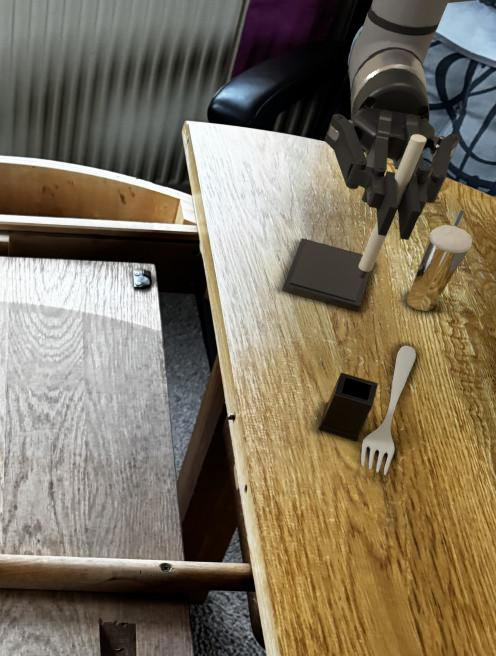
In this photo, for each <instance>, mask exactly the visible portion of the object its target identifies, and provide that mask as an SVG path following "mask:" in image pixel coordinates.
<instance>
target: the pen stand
mask: <svg viewBox="0 0 496 656" xmlns="http://www.w3.org/2000/svg"><path fill="white" fill-rule="evenodd" d="M378 385H379V383H378V382H376V381H372V380H369V379H365V378H362V377H358V376H356V375H355V376H354V375H352V374H348V373H345V372H340V374H339V376H338V378H337V381H336V383H335V385H334V387H333V389H332V392H331V394H330V397H329V399H328V401H326V403H325V405H324V408H323V412H322V415H321V419H320V421H319V425H318V430H320V431H323V432H325V433H328V434H332V435H335V436H338V437H342V438H345V439H348V440H352V441H355V442H357V441H358V440H359V437H360V433H361V431H362V429H363V426H364V425H365V422H366V421H367V418H368V417H369V414H370V413H371V411H372V408H373V406H374V402H375V398H376V397H375V396H376V394H377V390H378Z"/></svg>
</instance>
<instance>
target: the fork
mask: <svg viewBox="0 0 496 656" xmlns="http://www.w3.org/2000/svg"><path fill="white" fill-rule="evenodd" d="M416 353H417V352H416V349H415V348H414V347H413V346H410V345H403V346H401V347H400V348H399V350H398V351H397V353H396V359H395V365H394V371H393V377H392V382H391V389H390V399H389V404H388V408H387V412H386V415H385V417H384V419H383V421H382V423H381V424H380V426H378V427H377V428H376V429H375V430H373V431H372V432H370V433H369V434H367V435H366V436H365V437H364V438H363V441H362V444H361V456H360V457H361V459H360V461H361V467H362V468H363V467H364V466H365V463H366V455H367V449H369V458H368V470H371V469H372V468H373V463H374V459H375V454H376V451H377V452H378V456H377V462H376V470H375V471H376V473H379V472H380V469H381V467H382V463H383V458H384V456H385V454H386V455H387V458H386V462H385V464H384V468H383V475H384V476H387V473H388V471H389V468H390V465H391V464H392V460H393V457H394V454H395V450H396V449H395V443H394V440H393V436H392V432H391V431H392V430H391V427H392V421H393V417H394V414H395V410H396V407H397V404H398V401H399V398H400V396H401V394H402V391H403V390H404V387H405V385H406V383H407V380H408V378H409V375H410V373H411V371H412V368H413V366H414V364H415V361H416V357H417V355H416Z"/></svg>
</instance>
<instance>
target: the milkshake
mask: <svg viewBox="0 0 496 656" xmlns="http://www.w3.org/2000/svg"><path fill="white" fill-rule="evenodd" d="M465 211H466V209H465V210H464V209H462V208H461V209H460V210H459V212H458V214H457V217H456V218H455V221H454V223H453V225H449V224H443V225H439V226H437V227H435V228H434V229H432V230H431V232H430V233H429V236H428V239H427V241H426V245H425V248H424V250H423V251H424V252H423V253H422V257H421V261H420V264H419V266H418V269H417V271H416V274H415V276H414V279H413V281H412V284H411V286H410V290H409V292H408V295H407V298H406V302H407V304H408V305H409V307H411V308H413V309H415V310H417V311H423V312H424V311H425V312H427V311H430V310H433V309H434V307H435V306H436V304H437V302H438V301H439V299H440V297H441V296H442V294H443V293H444V292H445V289H446V288H447V286H448V284H449V282H450V281H451V279H452V277H453V276H454V274H455V272H456V271H457V270H458V268H459V266H460V265H461V263H462V262H463V260H464V258H465V256H466V255H467V253H468V252H469V251H470V248H471V247H472V244H473V238H472V235H470V234H469V233H468V232H467V231H466V230H465V229H464V228H460V227H459V224H460V222H461V220H462V218H463V216H464V213H465Z"/></svg>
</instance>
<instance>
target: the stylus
mask: <svg viewBox="0 0 496 656" xmlns="http://www.w3.org/2000/svg"><path fill="white" fill-rule="evenodd" d="M426 141H427V139H426V138H425V137H424V136H422V135H418V134H414V135H412V136H411V138H410V141H409V143H408V146H407V148H406V151H405V153H404V155H403V158H402V160H401V163H400V165H399V168H398V170H397V171H396V172H395V179H396V191H397V202H398V207H399V204H400V202H401V200H402V197H403V195H404V193H405V190H406V188H407V186H408V183H409V181H410V179H411V176H412V174H413V172H414V169H415V167H416V164H417V162H418V160H419V157H420V155H421V153H422V154H423V152H422V150H423V148H424V145H425V143H426ZM386 238H387V236H382V235H378V225H377V221H376V222H375V224H374V227H373V229H372V232H371V234H370V236H369V239H368V242H367V244H366V246H365V249H364V251H363V253H362V254H363V256H362V258H361V261H360V263H359V269H361V270H360V272H359V275H358V277H359V278H362V279H363V278H365V276H366V274H367V272H369V271H370V272H371V271H372V270H373V268H374V266H375V264H376V262H377V259H378V257H379V254H380V253H381V250H382V247H383V244H384V243H385V240H386Z"/></svg>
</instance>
